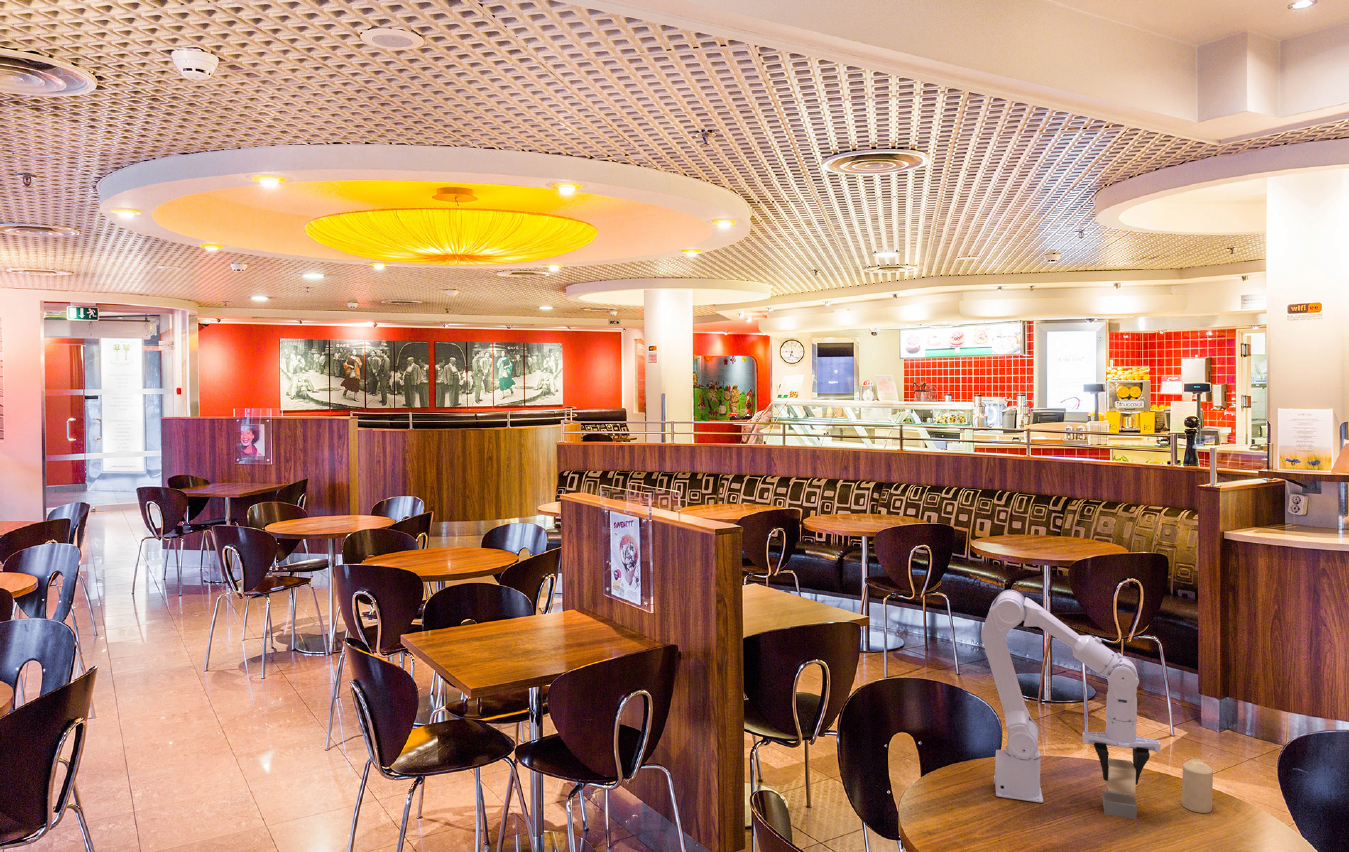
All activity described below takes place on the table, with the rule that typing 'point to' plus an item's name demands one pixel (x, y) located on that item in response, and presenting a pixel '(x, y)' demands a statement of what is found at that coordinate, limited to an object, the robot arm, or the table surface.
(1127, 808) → the gray block
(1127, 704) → the robot arm
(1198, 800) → the candle
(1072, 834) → the table surface
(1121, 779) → the beech cube
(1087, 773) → the table surface
